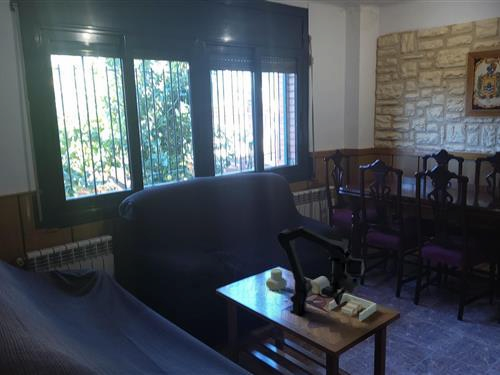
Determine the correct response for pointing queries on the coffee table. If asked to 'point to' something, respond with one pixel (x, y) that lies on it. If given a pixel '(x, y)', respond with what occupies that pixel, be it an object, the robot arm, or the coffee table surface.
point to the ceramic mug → (319, 285)
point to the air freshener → (276, 280)
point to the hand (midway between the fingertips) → (338, 304)
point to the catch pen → (364, 303)
